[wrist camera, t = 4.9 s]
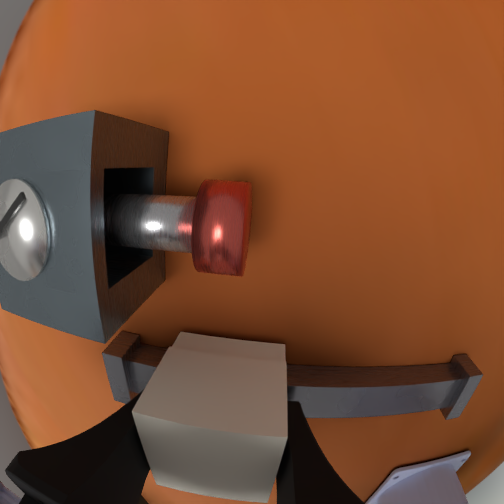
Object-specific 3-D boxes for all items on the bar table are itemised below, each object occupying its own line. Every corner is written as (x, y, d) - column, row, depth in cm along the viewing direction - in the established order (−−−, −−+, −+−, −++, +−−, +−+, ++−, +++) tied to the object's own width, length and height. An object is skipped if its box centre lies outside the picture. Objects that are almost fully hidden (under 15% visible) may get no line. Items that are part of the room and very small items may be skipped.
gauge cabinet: (165, 280, 12) (99, 349, 7) (73, 266, 12) (-4, 312, 7) (168, 131, 10) (87, 108, 5) (70, 139, 10) (-20, 137, 5)
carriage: (272, 417, 13) (267, 502, 8) (185, 406, 13) (156, 484, 8) (285, 340, 12) (287, 437, 7) (180, 327, 12) (131, 411, 7)
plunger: (248, 260, 10) (237, 291, 7) (132, 248, 10) (93, 271, 7) (253, 181, 9) (245, 184, 6) (132, 176, 9) (89, 179, 7)
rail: (445, 395, 12) (458, 416, 11) (129, 376, 14) (114, 400, 12) (466, 354, 12) (483, 374, 10) (121, 330, 13) (101, 352, 11)
